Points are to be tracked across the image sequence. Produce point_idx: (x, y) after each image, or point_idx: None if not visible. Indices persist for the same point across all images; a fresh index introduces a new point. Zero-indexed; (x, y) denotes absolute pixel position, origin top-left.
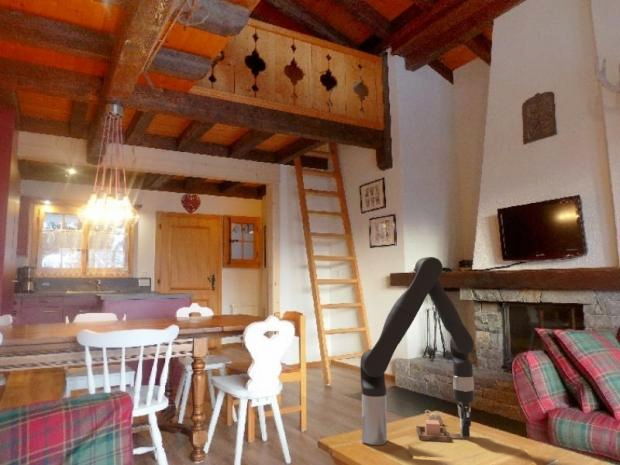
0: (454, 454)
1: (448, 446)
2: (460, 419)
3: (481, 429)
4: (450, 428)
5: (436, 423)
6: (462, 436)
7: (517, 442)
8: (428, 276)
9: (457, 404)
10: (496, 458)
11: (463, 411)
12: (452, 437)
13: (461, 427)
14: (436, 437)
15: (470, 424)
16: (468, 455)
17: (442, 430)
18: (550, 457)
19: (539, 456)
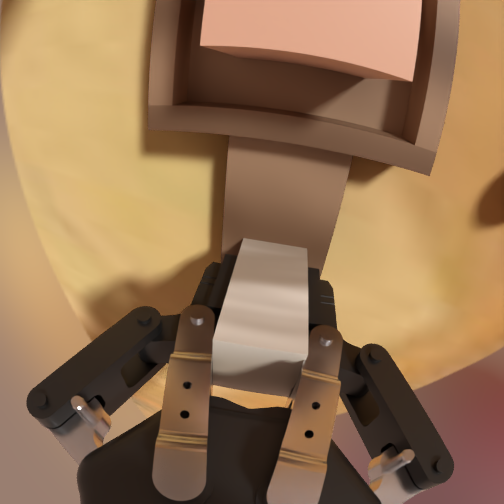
0: (44, 123)
1: (143, 101)
2: (260, 348)
3: (416, 366)
4: (488, 243)
5: (244, 4)
6: (242, 246)
7: (252, 406)
8: None
9: (443, 463)
10: (68, 289)
11: (114, 439)
12: (234, 164)
13: (228, 288)
14: (158, 15)
15: (135, 356)
16: (51, 191)
17: (407, 137)
18: (144, 403)
19: (141, 392)
